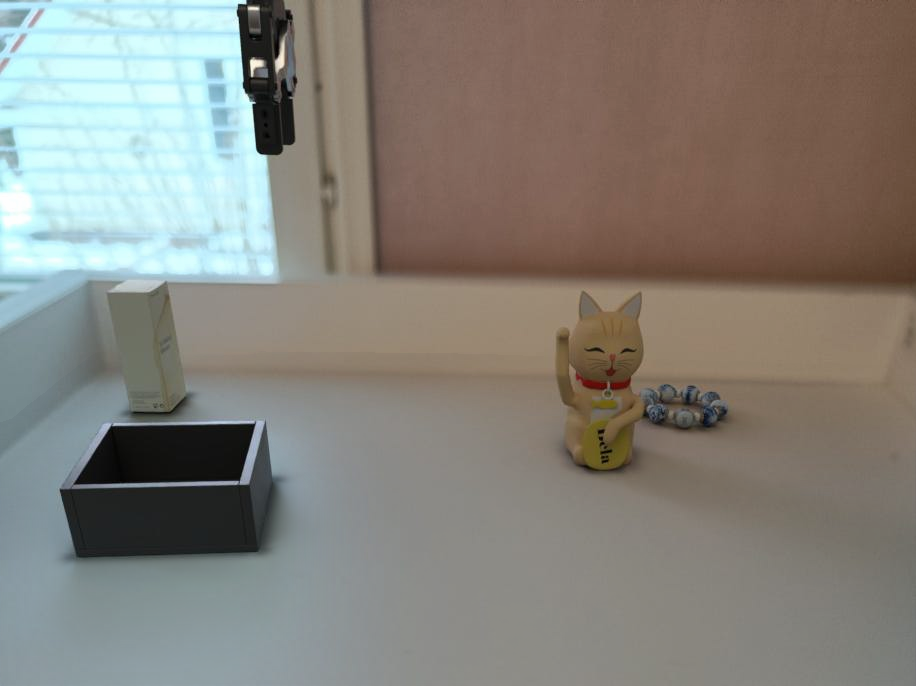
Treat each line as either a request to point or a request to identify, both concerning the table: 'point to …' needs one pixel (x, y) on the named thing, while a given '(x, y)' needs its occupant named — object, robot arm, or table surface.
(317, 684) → the table surface
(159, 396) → the cosmetic box
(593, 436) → the figurine
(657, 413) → the bracelet
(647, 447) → the table surface
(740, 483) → the table surface
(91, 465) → the dark grey open box
